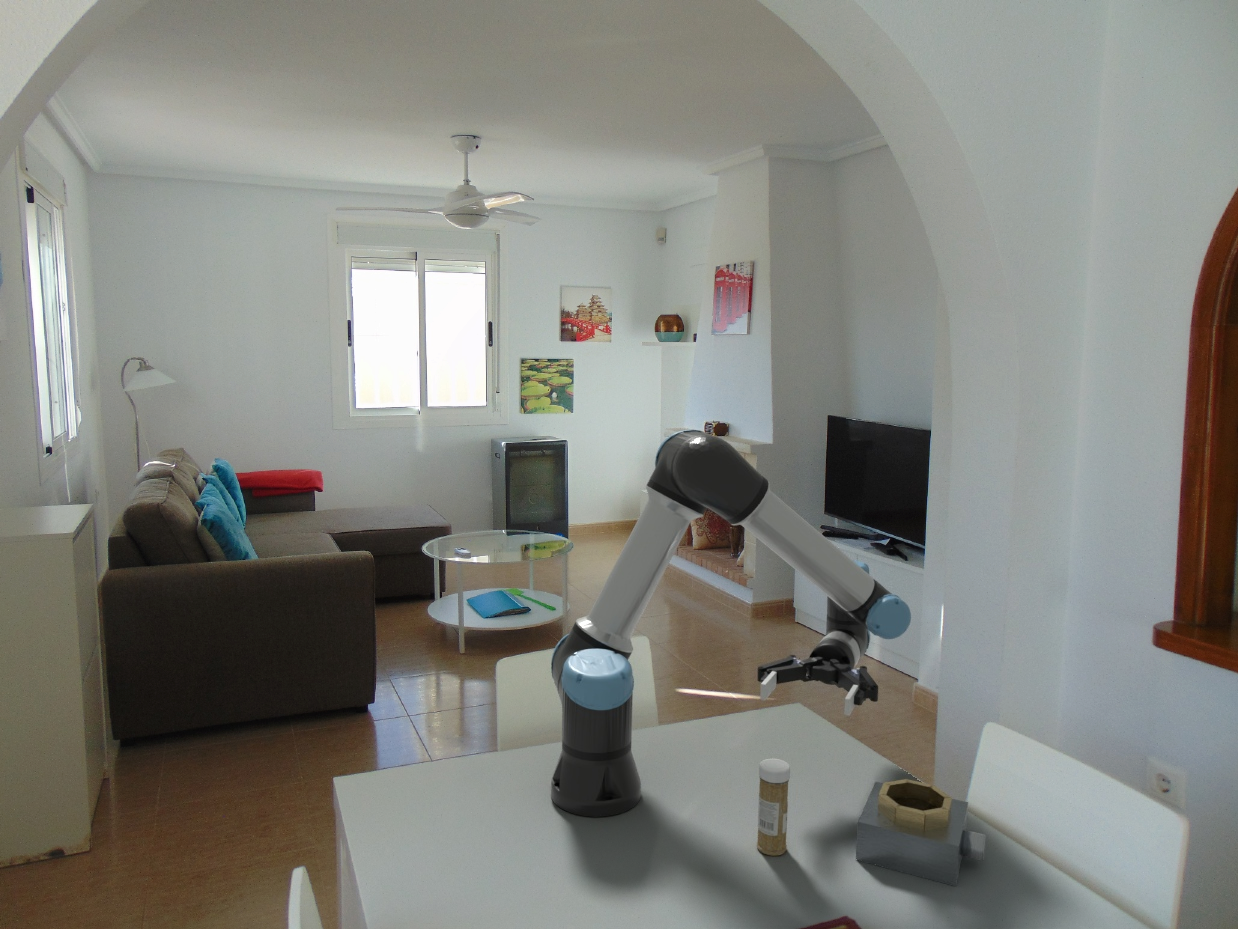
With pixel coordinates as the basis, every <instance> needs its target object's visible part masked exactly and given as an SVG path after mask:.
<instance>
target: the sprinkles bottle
mask: <svg viewBox="0 0 1238 929" xmlns="http://www.w3.org/2000/svg"><path fill="white" fill-rule="evenodd" d="M758 766H759V767H758V775H759V791H758V805H757V807H758V809H757V810H758V811H757V842H756V848H757V850H758V851H759V852H760V853H762V854H764V855H767V856H772V857H774V856H781V855H783V854H784V853H786V851H787V848H788V846H787V830H788V813H789V812H788V807H789V805H788V804H789V803H788V802H789V801H788V797H789V795H788V794H789V782H790V781H789V780H790V777H791V766H790V764H789V763H788V762H787V761H785V760H783V759H779V758H766V759H763V760H761V761H760V762H759V764H758Z"/></svg>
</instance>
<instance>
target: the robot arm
mask: <svg viewBox="0 0 1238 929" xmlns="http://www.w3.org/2000/svg"><path fill="white" fill-rule="evenodd" d="M654 465H655V468H654V470H653V472H652V474H651V476H650V477H649V480H648V482H647V483H646V486H645V488H646V492H647V495H648V496H647V497H648V500H647V502H646V504H645V505H644V507H643V510H642V511H641V513H640V515H639V517H638V519H637V521H636V523H635V525H634V527H633V529H632V531H631V533H630V534H629V536H628V539H627V540H626V542H625V544H624V546H623V547H622V550H621V551H620V554H619V555H618V558H617V559H616V561H615V563H614V565H613V567H612V569H611V571H610V573H609V574H608V576H607V579H606V580H605V582H604V584H603V586H602V588H601V591H600V592H599V594H598V596H597V597H596V600H595V601H594V604H593V606H592V608H591V609H590V611H589V612H588V615H585V616H582V617H579V618H577V619H576V620H575V622H574V624H573V626H572V628H571V630H570V632H569V633H567V634H566V635H564V636H563V637H562V638H561V639H560V640H559V641H558V643H557V644H556V645H555V647H554V649H553V652H552V655H551V656H552V657H551V663H550V664H551V667H550V669H551V672H550V673H551V678H552V679H553V681H554V684H555V688H556V690H557V693H558V697H559V700H560V703H561V704H560V705H561V710H562V711H561V712H562V713H561V715H562V716H561V719H562V720H561V722H562V723H561V724H562V726H561V731H562V732H561V752H560V754H559V756H558V757H559V758H558V761H557V764H556V766H555V769H554V772H553V775H552V778H551V784H550V797H551V800H552V801H553V803H554V804H555V805H556V806H557V807H558V808H560V809H561V810H564V811H565V812H568V813H570V814H573V815H576V816H577V815H578V816H583V817H593V818H594V817H599V818H600V817H609V816H615V815H619V814H622V813H625V812H627V811H629V810H631V809H632V808H634V807H635V806H636V805H637V804H638V803H639V801H640V800H641V797H642V796H641V795H642V781H641V780H642V779H641V777H640V774H639V771H638V768H637V765H636V761H635V758H634V755H633V752H632V740H633V739H632V738H633V737H632V736H633V735H632V732H633V730H632V729H633V698H634V697H633V696H634V695H633V692H634V688H635V687H634V685H635V684H634V683H635V678H634V675H633V674H634V673H633V667H632V665H631V662H630V661H629V659H630V656H632V653H633V651H634V647H633V644H632V640H631V637H632V636H633V633H634V632H635V630H636V627H637V625H638V623H639V621H640V619H641V617H642V615H643V614H644V612H645V610H646V608H647V606H648V605H649V602H650V600H651V598H652V597H653V595H654V593H655V591H656V589H657V587H658V585H659V583H660V582H661V579H662V577H663V575H664V573H665V571H666V569H667V567H668V566H669V564H670V562H671V560H672V558H673V556H674V554H675V552H676V551H677V548H678V547H679V545H680V542H681V541H682V539H683V537H684V536H685V533H686V532H687V530H688V528H689V526H690V523H691V522H692V521H694V520H696V519H699V518H703V516H704V515H705V513H706V511H707V509H709V510H710V511H712V512H714V513H715V514H716V515H718V516H719V517H721V518H722V519H724V520H725V521H726V522H728V523H729V524H730V525H731V526H739V525H740V526H742V527H743V529H745V530H747V532H749V533H750V534H751V535H753V536H754V537H755V538H756V539H757V540H758V541H760V542H761V543H762V544H764V545H765V546H766V547H767V548H768V549H770V550H771V551H772V552H773V553H774V554H776V555H777V556H778V557H779V558H780V559H782V560H783V561H784V562H785V563H786V564H788V565H789V566H790V567H791V568H793V569H794V570H796V572H798V573H799V575H801V576H802V577H804V578H805V579H806V580H808V582H810V583H811V584H812V585H813V586H815V587H816V588H817V589H818V590H819V591H821V592H822V593H823V594H824V595H826V597H827V600H826V601H827V602H826V607H827V608H826V626H825V628H826V629H825V630H826V631H825V635H824V636H823V638H822V639H821V640H820V641H819V642H818V643H817V645H816V646H815V647H814V649H812V651H811V652H810V654H809V657H808V658H805V659H804V660H800V659H799V660H798V658H797V655H795V654H789V655H788V656H787V657H785V658H782V659H777V660H774V661H771V662H768V663H764V664H761V665H758V666H757V676H756V677H757V681H758V682H759V683H760V691H759V692H760V694H759V695H760V696H759V697H760V698H759V699H760V701H766V700H767V699H768V697H769V696H770V695H771V694H772V693H773V692H774V690H775V689H776V688H777V685H780V684H784V683H785V684H786V683H790V682H791V683H792V682H796V681H802V682H803V683H808V682H813V681H815V682H821V683H823V684H824V685H829V686H836V688H838V689H841V688H843V689H844V690H845V691H846V692H848V693H847V694H846V696H845V697H844V710H843V711H844V714H843V715H844V716H848V717H850V715H851V714H852V712H853V710H854V708H855V706H862V705H863V704H864V702H866V701H867V700H868V699H869V701H870V702H874V703H876V702H877V703H878V701H879V685H878V683H876V681H875V680H874V678H873V677H872V676H871V675H870V673H869V672H868V667H867V666H865V665H861V666H859V667H857V668H856V669H855V667H856V666H857V664H858V663H859V661H861V660H860V659H861V658H862V657H863V656H864V655H865V654H866V653H867V650H868V649H869V646H870V642H871V634H872V635H873V636H877V637H879V638H881V639H884V640H895V639H897V638H899V637H901V636H903V635H904V634H905V633H906V632H907V630H908V629H909V626H910V624H911V620H912V612H911V610H910V607H909V605H908V604H907V603H906V601H904V600H902V599H901V598H900V596H899V595H896V594H893V593H892V592H891V591H889V590H888V589H886V588H885V587H884V586H883V585H882V584H881V583H880V582H878V581H877V580H876V579H874V578H873V576H871V574H870V568H869V565H868V564H867V563H866V562H863V561H859V560H853V559H852V558H850V557H849V556H848V555H847V554H846V553H844V552H843V551H842V550H841V549H840V548H839V547H837V546H836V545H835V544H834V543H833V542H832V541H831V540H829V539H828V538H827V537H826V536H824V535H823V534H822V533H821V532H819V531H818V529H816V528H815V527H814V526H813V525H812V524H810V523H809V522H808V521H807V520H806V519H804V518H803V517H802V516H801V515H800V514H798V513H797V511H795V510H794V509H793V508H791V506H789V505H788V504H787V503H785V502H784V501H783V500H782V499H781V498H779V496H778V495H777V494H775V493H774V492H773V491H772V490H771V482H770V481H769V480H768V479H767V478H766V477H764V476H763V475H762V474H761V473H760V472H759V471H758V470H757V469H756V468H755V467H754V466H753V465H752V464H750V462H749V461H748V460H746V458H744V456H743V455H742V454H741V453H740V452H739V451H738V449H736V448H735V447H734V446H733V445H732V444H731V443H729V442H728V441H726V440H725V439H723V438H720V437H718V436H715V435H711V434H709V433H708V432H704V431H702V430H698V429H685V430H680V431H677V432H675V433H672V434H670V435H669V436H667V438H665V439H664V440H663V441H662V442H661V444H660V445H659V447H658V449H657V451H656V455H655V461H654ZM757 681H756V682H757Z"/></svg>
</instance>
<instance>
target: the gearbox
mask: <svg viewBox="0 0 1238 929" xmlns="http://www.w3.org/2000/svg"><path fill="white" fill-rule="evenodd" d="M968 810H969V801H963V800H960V799H955V798H952V797H951V796H950V795H948V794H947V793H946V792H945V791H943V790H942V789H940V788H939V787H937V786H936V785H934V784H929V783H926V782H922V781H916V780H912V779H907V778H905V779H897V780H892V781H885V782H879V781H874V784H873V786H872V788H871V791H870V794H869V796H868V798H867V800H866V802H865V805H864V807H863V809H862V812H861V814H860V815H859V818H858V820H857V828H856V830H857V831H856V832H857V833H856V834H857V835H856V848H855V850H856V851H855V860H856V859H857V860H856V861H858V860H859V861H858V862H862V861H863V862H862V863H866V862H867V863H866V864H869V865H870V864H871V865H873V864H876V865H875V866H877V865H878V866H877V867H881V866H883V867H882V868H886V869H889V868H890V869H889V870H893V871H896V870H897V872H900V871H902V872H901V873H904V874H907V873H908V875H911V874H912V875H913V876H915V877H916V876H917V877H919V878H922V879H928V880H931V881H935V882H939V883H942V884H945V885H950V886H954V887H957V883H958V879H959V873H960V869H961V864H962V858H963V857H966V858H970V859H974V860H977V861H978V860H979V861H981V862H983V861H984V857H985V848H986V837H987V836H986V834H984V833H980V832H975V831H970V830H967V827H968V826H967V825H968Z"/></svg>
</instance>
